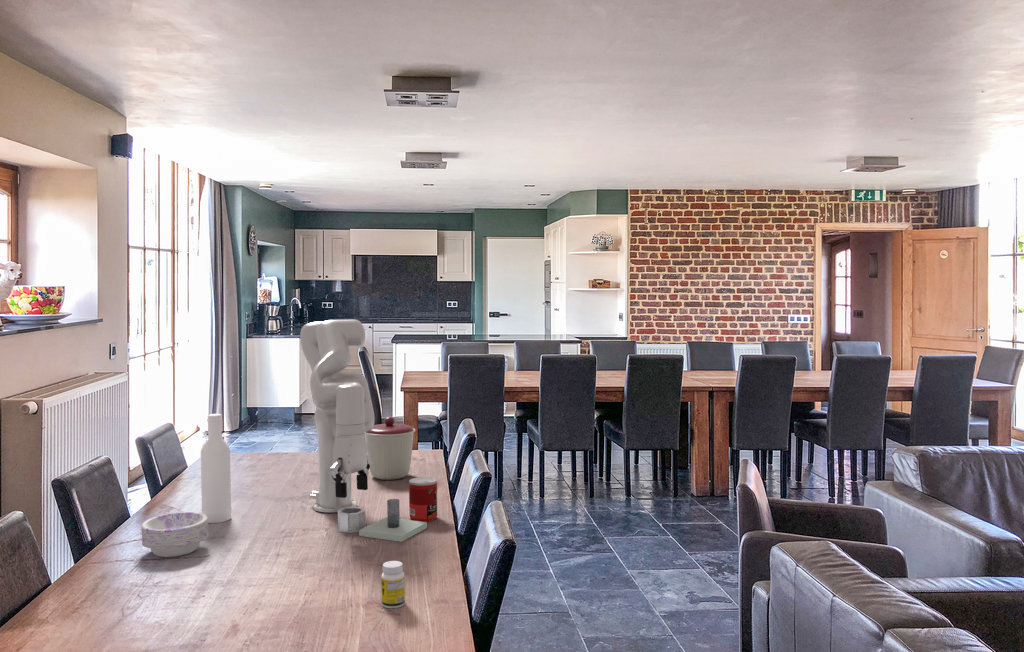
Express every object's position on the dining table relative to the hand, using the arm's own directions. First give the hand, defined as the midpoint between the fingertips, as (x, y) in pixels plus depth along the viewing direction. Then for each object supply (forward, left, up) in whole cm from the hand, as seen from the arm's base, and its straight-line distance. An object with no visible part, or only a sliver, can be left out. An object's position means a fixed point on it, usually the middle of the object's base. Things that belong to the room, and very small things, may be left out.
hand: (352, 493), depth 208 cm
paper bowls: (-31, -31, -10) cm, 45 cm away
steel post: (+11, +3, -8) cm, 14 cm away
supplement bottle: (+37, -39, -10) cm, 55 cm away
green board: (+11, +3, -10) cm, 15 cm away
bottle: (-42, -6, -10) cm, 43 cm away
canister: (-24, +57, -10) cm, 62 cm away
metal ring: (-1, +1, -10) cm, 10 cm away
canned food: (+13, +17, -10) cm, 23 cm away
